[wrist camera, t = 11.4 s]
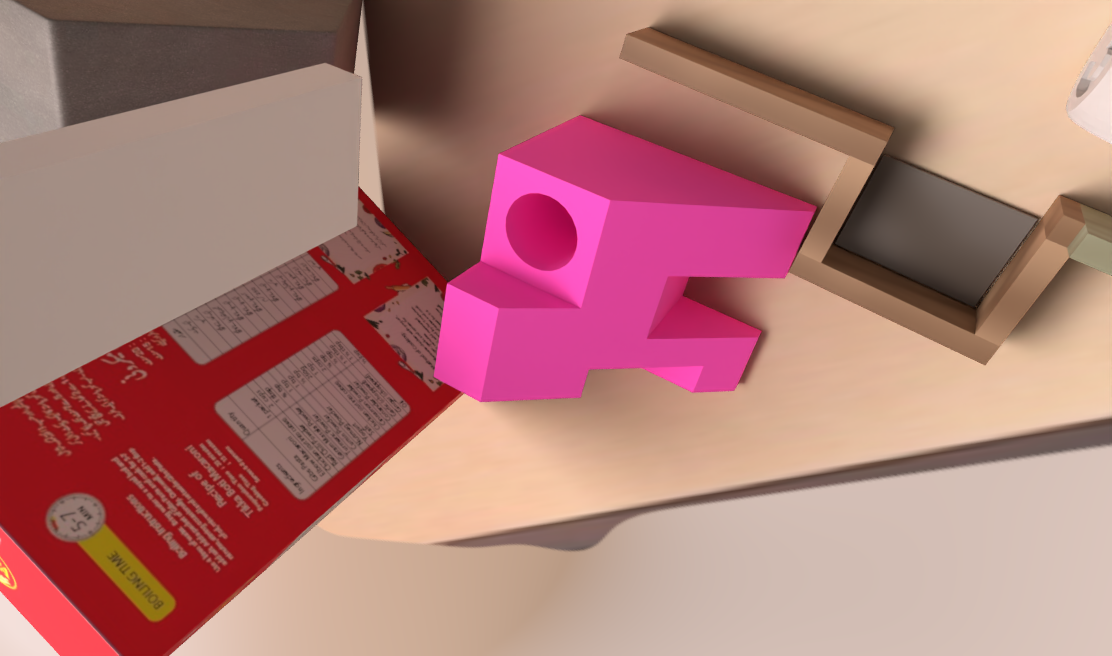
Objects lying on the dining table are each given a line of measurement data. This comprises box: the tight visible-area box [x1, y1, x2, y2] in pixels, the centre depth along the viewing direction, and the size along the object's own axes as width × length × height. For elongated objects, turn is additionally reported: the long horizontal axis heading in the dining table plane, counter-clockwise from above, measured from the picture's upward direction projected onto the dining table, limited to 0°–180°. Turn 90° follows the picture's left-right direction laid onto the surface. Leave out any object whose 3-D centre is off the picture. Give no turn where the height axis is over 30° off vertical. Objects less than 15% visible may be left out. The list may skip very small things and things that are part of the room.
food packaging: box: [0, 186, 464, 656], centre depth 37 cm, size 15×5×25 cm, turn 49°
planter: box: [0, 0, 362, 143], centre depth 35 cm, size 17×8×21 cm
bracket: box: [434, 115, 817, 402], centre depth 34 cm, size 12×10×10 cm
